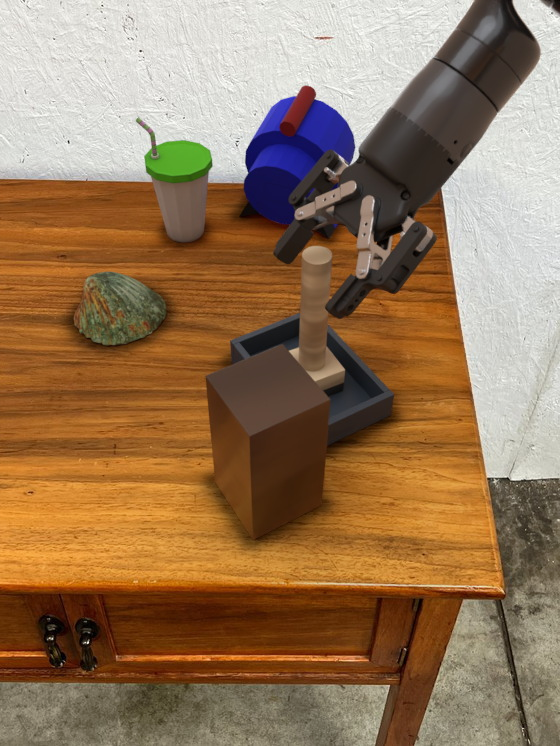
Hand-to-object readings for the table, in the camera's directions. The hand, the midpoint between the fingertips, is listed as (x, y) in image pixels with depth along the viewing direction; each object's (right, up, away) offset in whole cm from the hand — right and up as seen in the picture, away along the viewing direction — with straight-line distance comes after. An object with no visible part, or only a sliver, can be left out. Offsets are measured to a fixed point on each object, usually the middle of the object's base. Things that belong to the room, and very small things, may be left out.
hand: (305, 286), depth 68 cm
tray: (+1, -9, +10) cm, 14 cm away
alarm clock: (0, +13, +32) cm, 34 cm away
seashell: (-20, -1, +18) cm, 27 cm away
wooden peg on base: (+1, -9, +10) cm, 13 cm away
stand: (-3, -18, +1) cm, 19 cm away
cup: (-14, +10, +28) cm, 33 cm away
